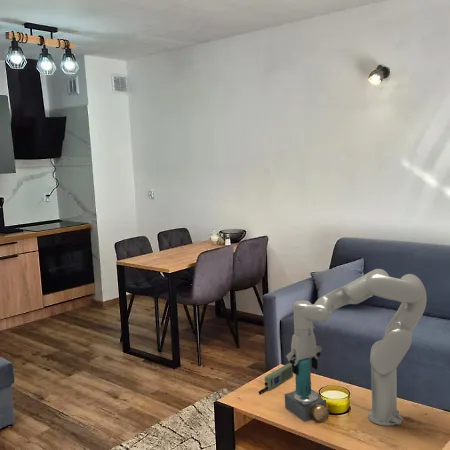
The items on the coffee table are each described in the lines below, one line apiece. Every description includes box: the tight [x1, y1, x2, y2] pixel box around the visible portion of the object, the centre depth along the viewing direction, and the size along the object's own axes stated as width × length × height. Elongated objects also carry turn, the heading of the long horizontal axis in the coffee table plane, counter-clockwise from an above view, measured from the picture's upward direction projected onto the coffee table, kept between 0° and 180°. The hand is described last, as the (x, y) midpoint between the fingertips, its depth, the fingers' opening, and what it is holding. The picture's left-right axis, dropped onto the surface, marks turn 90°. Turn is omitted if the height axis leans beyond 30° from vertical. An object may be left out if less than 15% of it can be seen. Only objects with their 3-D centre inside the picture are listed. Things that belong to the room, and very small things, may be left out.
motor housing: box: [284, 389, 330, 423], centre depth 211 cm, size 18×12×6 cm, turn 27°
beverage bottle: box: [295, 358, 312, 397], centre depth 210 cm, size 6×7×20 cm
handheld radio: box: [258, 362, 294, 395], centre depth 239 cm, size 7×3×25 cm
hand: (305, 371), depth 211 cm, fingers open, 9 cm apart
